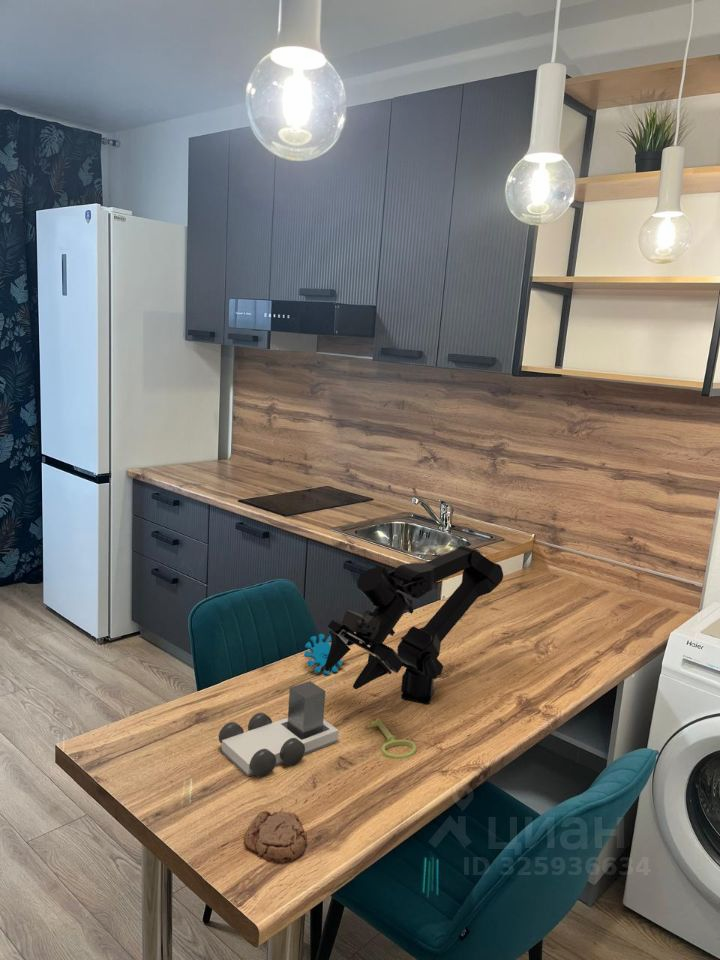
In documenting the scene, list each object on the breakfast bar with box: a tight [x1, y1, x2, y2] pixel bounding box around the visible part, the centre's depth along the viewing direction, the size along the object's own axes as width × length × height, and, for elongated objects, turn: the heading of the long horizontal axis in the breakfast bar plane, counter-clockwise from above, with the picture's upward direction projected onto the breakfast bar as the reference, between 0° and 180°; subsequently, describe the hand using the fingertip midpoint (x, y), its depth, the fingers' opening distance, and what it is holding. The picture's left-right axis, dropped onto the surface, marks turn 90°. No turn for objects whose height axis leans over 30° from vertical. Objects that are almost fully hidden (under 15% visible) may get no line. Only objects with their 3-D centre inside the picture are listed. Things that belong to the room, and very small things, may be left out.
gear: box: [303, 633, 344, 676], centre depth 176 cm, size 11×6×10 cm
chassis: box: [218, 712, 339, 778], centre depth 141 cm, size 21×13×5 cm, turn 131°
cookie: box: [243, 810, 308, 864], centre depth 115 cm, size 10×11×3 cm
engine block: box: [287, 680, 326, 740], centre depth 144 cm, size 5×5×10 cm
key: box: [368, 718, 417, 760], centre depth 145 cm, size 7×12×2 cm, turn 43°
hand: (339, 678), depth 148 cm, fingers open, 9 cm apart
